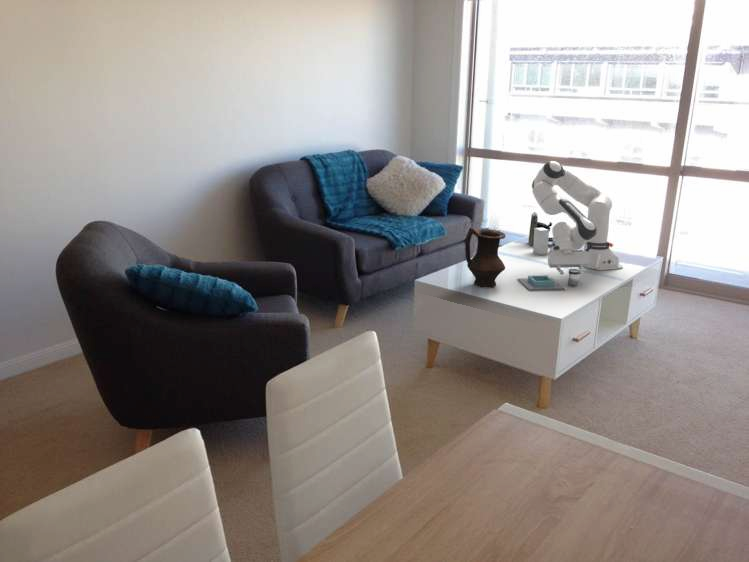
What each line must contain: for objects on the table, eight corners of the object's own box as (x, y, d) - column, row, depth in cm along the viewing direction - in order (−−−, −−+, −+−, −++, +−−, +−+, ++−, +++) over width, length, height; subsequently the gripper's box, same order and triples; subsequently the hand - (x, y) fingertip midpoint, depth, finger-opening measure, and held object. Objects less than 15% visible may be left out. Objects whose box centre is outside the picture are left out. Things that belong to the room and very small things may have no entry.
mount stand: (551, 279, 339) (551, 273, 338) (564, 290, 322) (565, 283, 321) (517, 280, 337) (517, 273, 336) (529, 291, 320) (529, 284, 319)
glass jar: (575, 284, 332) (576, 268, 330) (579, 287, 327) (581, 271, 325) (565, 284, 331) (567, 269, 329) (569, 287, 327) (571, 271, 324)
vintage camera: (553, 248, 406) (557, 216, 400) (528, 245, 408) (532, 214, 403) (552, 244, 415) (556, 213, 409) (527, 242, 417) (531, 211, 412)
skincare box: (547, 254, 389) (550, 230, 384) (538, 254, 387) (540, 230, 383) (541, 251, 396) (543, 227, 392) (532, 251, 395) (534, 227, 391)
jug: (493, 278, 340) (497, 221, 331) (510, 288, 323) (514, 229, 314) (456, 280, 335) (459, 223, 326) (470, 291, 318) (474, 231, 309)
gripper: (582, 253, 338) (588, 276, 332) (544, 254, 336) (549, 277, 330) (587, 246, 333) (593, 270, 326) (548, 247, 331) (553, 271, 324)
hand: (571, 273), depth 328 cm, fingers open, 8 cm apart
